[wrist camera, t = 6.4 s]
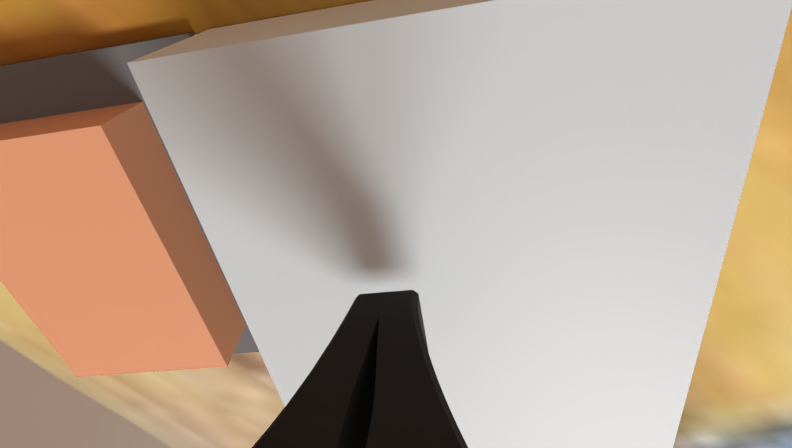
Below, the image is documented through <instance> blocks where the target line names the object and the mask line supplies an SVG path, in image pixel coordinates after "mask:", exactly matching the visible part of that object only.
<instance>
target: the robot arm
mask: <svg viewBox="0 0 792 448" xmlns="http://www.w3.org/2000/svg"><path fill="white" fill-rule="evenodd" d="M252 448H468V446H467V444H466V442H465V440H464V438H463V436H462V434H461V432H460V430H459V428H458V426H457V423H456V421H455V419H454V417H453V415H452V412H451V410H450V408H449V406H448V403H447V401H446V399H445V396H444V394H443V391H442V389H441V386H440V384H439V381H438V379H437V376H436V373H435V371H434V368H433V365H432V362H431V359H430V356H429V353H428V346H427V340H426V334H425V329H424V323H423V317H422V312H421V306H420V300H419V294H418V293H417V292H415V291H414V290H404V291H392V292H380V293H368V294H359V295H358V296H357V297H356V298H355V300H354V302H353V304H352V306H351V307H350V309H349V311H348V313H347V314H346V316H345V318H344V320H343V321H342V323H341V325H340V326H339V328H338V330H337V331H336V333H335V335H334V336H333V338H332V339H331V341H330V343H329V344H328V346H327V347H326V349H325V350H324V352H323V353H322V355H321V357H320V358H319V360H318V361H317V363H316V364H315V366H314V367H313V369H312V370H311V372H310V373H309V375H308V376H307V377H306V379H305V380H304V382H303V383H302V384H301V386H300V387H299V388H298V390H297V391H296V393H295V394H294V395H293V397H292V398H291V399H290V401H289V402H288V404H287V405H286V406H285V408H284V409H283V410H282V412H281V413H280V414H279V415H278V417H277V418H276V419H275V420H274V422H273V423H272V424H271V425H270V427H269V428H268V429H267V430H266V432H265V433H264V434H263V435H262V436H261V437H260V439H259V440H258V441H257V442H256V443H255V445H254V446H253V447H252Z"/></svg>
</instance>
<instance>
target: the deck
mask: <svg viewBox="0 0 792 448" xmlns="http://www.w3.org/2000/svg"><path fill="white" fill-rule="evenodd" d="M791 8H792V0H371V1H365V2H359V3H354V4H348V5H343V6H337V7H331V8H326V9H320V10H314V11H309V12H303V13H297V14H292V15H286V16H280V17H275V18H269V19H263V20H258V21H252V22H246V23H241V24H235V25H229V26H224V27H218V28H212V29H209V30H206V31H204V32H201V33H199V34H196V35H194V36H192V37H189V38H187V39H184V40H182V41H179V42H177V43H174V44H172V45H170V46H167V47H165V48H162V49H160V50H157V51H155V52H152V53H150V54H148V55H145V56H143V57H140V58H138V59H135V60H133V61H131V62H128V63H127V64H128V66H129V68H130V71H131V73H132V75H133V77H134V79H135V82H136V84H137V86H138V88H139V90H140V92H141V95H142V97H143V99H144V101H145V103H146V106H147V108H148V110H149V112H150V114H151V116H152V119H153V121H154V123H155V125H156V127H157V129H158V132H159V134H160V136H161V138H162V140H163V143H164V145H165V147H166V149H167V151H168V153H169V156H170V158H171V160H172V162H173V164H174V166H175V169H176V171H177V173H178V175H179V177H180V180H181V182H182V184H183V186H184V188H185V190H186V193H187V195H188V197H189V199H190V201H191V203H192V206H193V208H194V210H195V212H196V214H197V217H198V219H199V221H200V223H201V225H202V227H203V230H204V232H205V234H206V236H207V238H208V241H209V243H210V245H211V247H212V249H213V251H214V254H215V256H216V258H217V260H218V262H219V264H220V267H221V269H222V271H223V273H224V275H225V278H226V280H227V282H228V284H229V286H230V288H231V291H232V293H233V295H234V297H235V299H236V301H237V304H238V306H239V308H240V310H241V312H242V315H243V317H244V319H245V321H246V323H247V325H248V328H249V330H250V332H251V334H252V336H253V339H254V341H255V343H256V345H257V347H258V349H259V352H260V354H261V356H262V358H263V360H264V362H265V365H266V367H267V369H268V371H269V373H270V376H271V378H272V380H273V382H274V384H275V386H276V389H277V391H278V393H279V395H280V397H281V399H282V402H283V404H284V406H286V405H287V404H288V402H289V401H290V399H291V398H292V397H293V395H294V394H295V393H296V391H297V390H298V388H299V387H300V386H301V384H302V383H303V382H304V380H305V379H306V377H307V376H308V375H309V373H310V372H311V370H312V369H313V367H314V366H315V364H316V363H317V361H318V360H319V358H320V357H321V355H322V353H323V352H324V350H325V349H326V347H327V346H328V344H329V343H330V341H331V339H332V338H333V336H334V335H335V333H336V331H337V330H338V328H339V326H340V325H341V323H342V321H343V320H344V318H345V316H346V314H347V313H348V311H349V309H350V307H351V306H352V304H353V302H354V300H355V298H356V297H357V296H358V295H359V294H368V293H380V292H392V291H404V290H414V291H415V292H417V293H418V294H419V300H420V306H421V312H422V317H423V323H424V329H425V334H426V340H427V346H428V353H429V356H430V359H431V362H432V365H433V368H434V371H435V373H436V376H437V379H438V381H439V384H440V386H441V389H442V391H443V394H444V396H445V399H446V401H447V403H448V406H449V408H450V410H451V412H452V415H453V417H454V419H455V421H456V423H457V426H458V428H459V430H460V432H461V434H462V436H463V438H464V440H465V442H466V444H467V446H468V448H673V445H674V441H675V437H676V434H677V430H678V426H679V423H680V419H681V415H682V412H683V408H684V404H685V400H686V397H687V393H688V389H689V386H690V382H691V378H692V375H693V371H694V367H695V363H696V360H697V356H698V352H699V349H700V345H701V341H702V338H703V334H704V330H705V326H706V323H707V319H708V315H709V312H710V308H711V304H712V301H713V297H714V293H715V289H716V286H717V282H718V278H719V275H720V271H721V267H722V264H723V260H724V256H725V252H726V249H727V245H728V241H729V238H730V234H731V230H732V227H733V223H734V219H735V215H736V212H737V208H738V204H739V201H740V197H741V193H742V190H743V186H744V182H745V178H746V175H747V171H748V167H749V164H750V160H751V156H752V153H753V149H754V145H755V141H756V138H757V134H758V130H759V127H760V123H761V119H762V116H763V112H764V108H765V104H766V101H767V97H768V93H769V90H770V86H771V82H772V79H773V75H774V71H775V67H776V64H777V60H778V56H779V53H780V49H781V45H782V42H783V38H784V34H785V30H786V27H787V23H788V19H789V16H790V12H791Z"/></svg>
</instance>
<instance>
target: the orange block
mask: <svg viewBox="0 0 792 448" xmlns="http://www.w3.org/2000/svg"><path fill="white" fill-rule="evenodd" d="M0 281H1V282H2V283H3V284H4V286H5V287H6V288H7V289H8V291H9V292H10V293H11V294H12V296H13V297H14V298H15V299H16V301H17V302H18V303H19V304H20V306H21V307H22V308H23V310H24V311H25V312H26V313H27V315H28V316H29V317H30V318H31V320H32V321H33V322H34V323H35V325H36V326H37V327H38V328H39V330H40V331H41V332H42V333H43V335H44V336H45V337H46V338H47V340H48V341H49V342H50V343H51V345H52V346H53V347H54V348H55V350H56V351H57V352H58V353H59V355H60V356H61V357H62V359H63V360H64V361H65V362H66V364H67V365H68V366H69V367H70V369H71V370H72V371H73V372H74V374H75V375H76V376H77V377H82V376H97V375H111V374H126V373H141V372H155V371H170V370H184V369H199V368H213V367H227V366H228V364H229V362H230V360H231V357H232V355H233V353H234V351H235V349H236V347H237V345H238V342H239V340H240V338H241V336H242V334H243V332H244V330H245V327H246V324H245V322H244V320H243V318H242V316H241V314H240V311H239V309H238V307H237V305H236V303H235V301H234V298H233V296H232V294H231V292H230V290H229V288H228V285H227V283H226V281H225V279H224V277H223V275H222V272H221V270H220V268H219V266H218V264H217V262H216V259H215V257H214V255H213V253H212V251H211V249H210V246H209V244H208V242H207V240H206V238H205V236H204V233H203V231H202V229H201V227H200V225H199V223H198V220H197V218H196V216H195V214H194V212H193V210H192V207H191V205H190V203H189V201H188V199H187V197H186V194H185V192H184V190H183V188H182V186H181V184H180V181H179V179H178V177H177V175H176V173H175V171H174V168H173V166H172V164H171V162H170V160H169V158H168V155H167V153H166V151H165V149H164V147H163V145H162V142H161V140H160V138H159V136H158V134H157V132H156V129H155V127H154V125H153V123H152V121H151V119H150V116H149V114H148V112H147V110H146V108H145V106H144V103H143V102H137V103H130V104H124V105H118V106H111V107H105V108H98V109H92V110H86V111H79V112H73V113H67V114H60V115H54V116H47V117H41V118H35V119H28V120H22V121H16V122H9V123H3V124H0Z"/></svg>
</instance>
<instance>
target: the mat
mask: <svg viewBox="0 0 792 448" xmlns="http://www.w3.org/2000/svg"><path fill="white" fill-rule="evenodd" d="M192 36H194V33H193V32H190V33H184V34H179V35H173V36H167V37H162V38H156V39H150V40H145V41H139V42H133V43H128V44H122V45H116V46H111V47H105V48H99V49H94V50H88V51H82V52H77V53H71V54H65V55H60V56H54V57H48V58H43V59H37V60H31V61H26V62H20V63H15V64H9V65H3V66H0V124H3V123H9V122H16V121H22V120H28V119H35V118H41V117H47V116H54V115H60V114H67V113H73V112H79V111H86V110H92V109H98V108H105V107H111V106H118V105H124V104H130V103H137V102H143V103H144V106H145V108H146V110H147V112H148V114H149V116H150V119H151V121H152V123H153V125H154V127H155V129H156V132H157V134H158V136H159V138H160V140H161V142H162V145H163V147H164V149H165V151H166V153H167V155H168V158H169V160H170V162H171V164H172V166H173V168H174V171H175V173H176V175H177V177H178V179H179V181H180V184H181V186H182V188H183V190H184V192H185V194H186V197H187V199H188V201H189V203H190V205H191V207H192V210H193V212H194V214H195V216H196V218H197V220H198V223H199V225H200V227H201V229H202V231H203V233H204V236H205V238H206V240H207V242H208V244H209V246H210V249H211V251H212V253H213V255H214V257H215V259H216V262H217V264H218V266H219V268H220V270H221V272H222V275H223V277H224V279H225V281H226V283H227V285H228V288H229V290H230V292H231V294H232V296H233V298H234V301H235V303H236V305H237V307H238V309H239V311H240V314H241V316H242V318H243V320H244V322H245V324H246V327H245V330H244V332H243V334H242V336H241V338H240V340H239V342H238V345H237V347H236V349H235V351H234V353H248V352H259V349H258V347H257V345H256V343H255V341H254V339H253V336H252V334H251V332H250V330H249V328H248V325H247V323H246V321H245V319H244V317H243V315H242V312H241V310H240V308H239V306H238V304H237V301H236V299H235V297H234V295H233V293H232V291H231V288H230V286H229V284H228V282H227V280H226V278H225V275H224V273H223V271H222V269H221V267H220V264H219V262H218V260H217V258H216V256H215V254H214V251H213V249H212V247H211V245H210V243H209V241H208V238H207V236H206V234H205V232H204V230H203V227H202V225H201V223H200V221H199V219H198V217H197V214H196V212H195V210H194V208H193V206H192V203H191V201H190V199H189V197H188V195H187V193H186V190H185V188H184V186H183V184H182V182H181V180H180V177H179V175H178V173H177V171H176V169H175V166H174V164H173V162H172V160H171V158H170V156H169V153H168V151H167V149H166V147H165V145H164V143H163V140H162V138H161V136H160V134H159V132H158V129H157V127H156V125H155V123H154V121H153V119H152V116H151V114H150V112H149V110H148V108H147V106H146V103H145V101H144V99H143V97H142V95H141V92H140V90H139V88H138V86H137V84H136V82H135V79H134V77H133V75H132V73H131V71H130V68H129V66H128V64H127V63H128V62H131V61H133V60H135V59H138V58H140V57H143V56H145V55H148V54H150V53H152V52H155V51H157V50H160V49H162V48H165V47H167V46H170V45H172V44H174V43H177V42H179V41H182V40H184V39H187V38H189V37H192ZM234 353H233V354H234Z"/></svg>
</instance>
